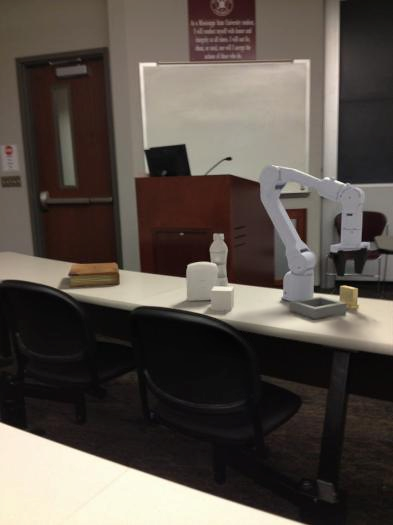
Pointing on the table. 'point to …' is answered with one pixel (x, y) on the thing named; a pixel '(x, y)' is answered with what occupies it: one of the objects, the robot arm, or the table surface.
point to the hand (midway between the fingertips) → (349, 274)
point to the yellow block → (349, 296)
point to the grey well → (317, 307)
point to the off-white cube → (222, 298)
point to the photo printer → (201, 280)
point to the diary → (94, 275)
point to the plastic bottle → (219, 258)
